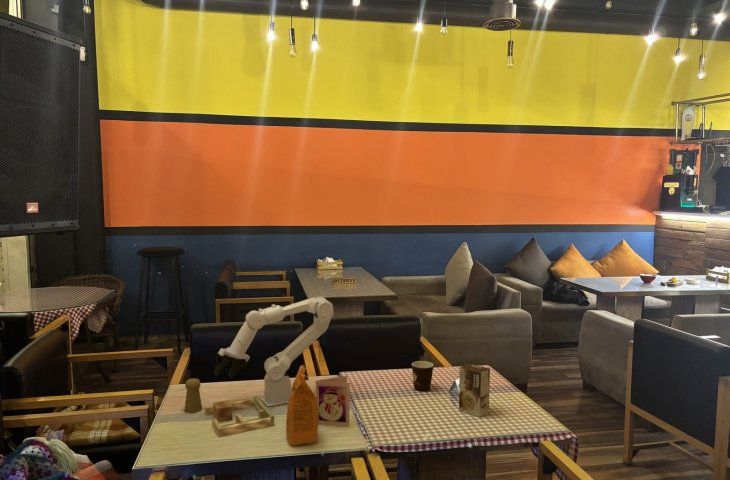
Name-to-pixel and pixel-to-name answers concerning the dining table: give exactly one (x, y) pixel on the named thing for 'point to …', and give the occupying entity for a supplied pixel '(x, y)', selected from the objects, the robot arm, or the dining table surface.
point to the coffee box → (474, 389)
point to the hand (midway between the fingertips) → (222, 375)
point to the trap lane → (241, 426)
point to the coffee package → (301, 412)
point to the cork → (193, 396)
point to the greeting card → (333, 401)
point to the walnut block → (222, 411)
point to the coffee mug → (422, 375)
